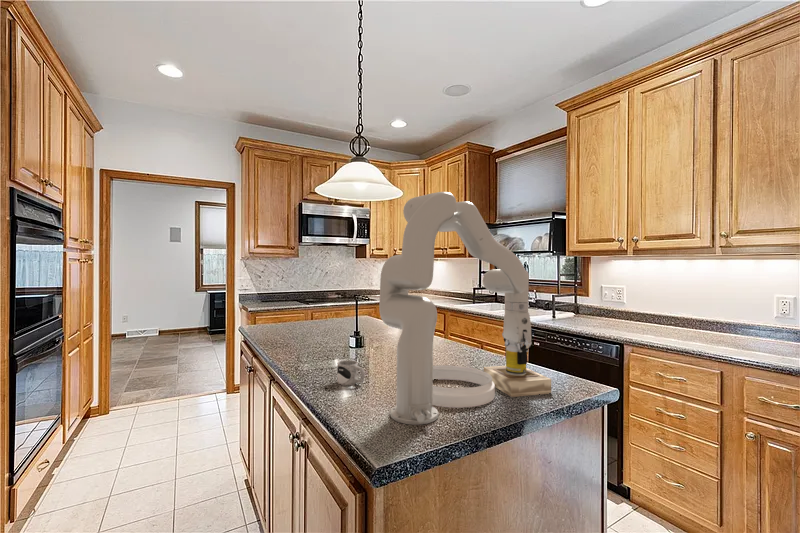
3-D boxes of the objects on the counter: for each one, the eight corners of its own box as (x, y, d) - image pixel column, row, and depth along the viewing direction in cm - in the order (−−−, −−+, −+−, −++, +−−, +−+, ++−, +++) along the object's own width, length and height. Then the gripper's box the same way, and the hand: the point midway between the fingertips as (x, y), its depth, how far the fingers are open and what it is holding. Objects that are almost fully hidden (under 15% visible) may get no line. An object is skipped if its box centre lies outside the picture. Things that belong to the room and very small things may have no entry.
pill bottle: (522, 377, 124) (522, 341, 124) (502, 374, 128) (503, 338, 128) (529, 373, 129) (529, 338, 129) (510, 369, 133) (510, 335, 133)
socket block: (551, 393, 122) (551, 378, 122) (511, 397, 118) (511, 381, 118) (519, 377, 139) (519, 364, 139) (483, 380, 136) (483, 366, 136)
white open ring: (496, 412, 107) (496, 392, 107) (400, 404, 112) (400, 385, 112) (493, 383, 133) (493, 367, 133) (415, 377, 139) (415, 362, 139)
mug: (333, 383, 130) (333, 363, 130) (345, 378, 136) (345, 359, 136) (357, 388, 125) (358, 367, 125) (369, 383, 131) (369, 363, 131)
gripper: (542, 309, 121) (541, 367, 121) (512, 304, 138) (511, 354, 138) (521, 310, 119) (520, 369, 119) (493, 304, 136) (492, 356, 136)
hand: (515, 360), depth 129 cm, fingers closed on pill bottle, 6 cm apart
